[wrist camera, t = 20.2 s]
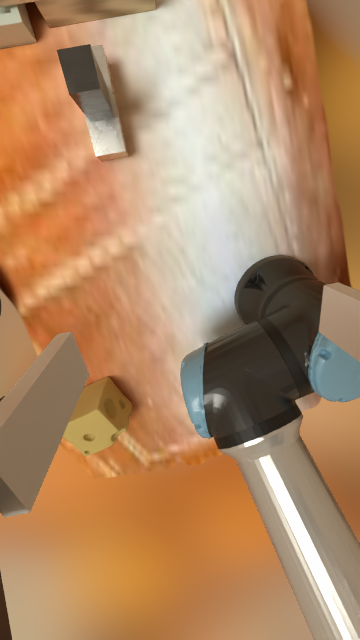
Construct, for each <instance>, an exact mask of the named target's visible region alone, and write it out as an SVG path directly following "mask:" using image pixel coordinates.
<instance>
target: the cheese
mask: <svg viewBox="0 0 360 640" xmlns="http://www.w3.org/2000/svg"><path fill="white" fill-rule="evenodd" d="M131 412H132V403H131V402H130V401H129V400H128V399H127V398H126V397H125V396H124V395H123V393H122V392H121V391H120V390H119V389H118V387H117V386H116V385H115V384H114V382H113V381H112V380H111V379H110V377H109V376H107V377H105V378H103V379H100V380H98V381H96V382H94V383H92V384H89V385H87V386H85V387H84V388H83V391H82V393H81V395H80V398H79V400H78V402H77V404H76V407H75V409H74V411H73V414H72V416H71V418H70V421H69V423H68V425H67V428H66V430H65V432H64V435H63V437H64V438H65V439H66V440H68V441H69V442H70V443H71V444H73V445H74V446H75V447H76V448H77V449H78V450H79V451H80V452H81V453H82V454H83V455H84V456H88V455H91V454H94V453H96V452H99V451H101V450H103V449H105V448H107V447H109V446H111V445H113V444H114V442H115V440H116V438H117V436H118V435H119V434H120V433H122V432H124V431H126V430H127V428H128V426H129V419H128V416H129V415H131Z"/></svg>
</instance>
